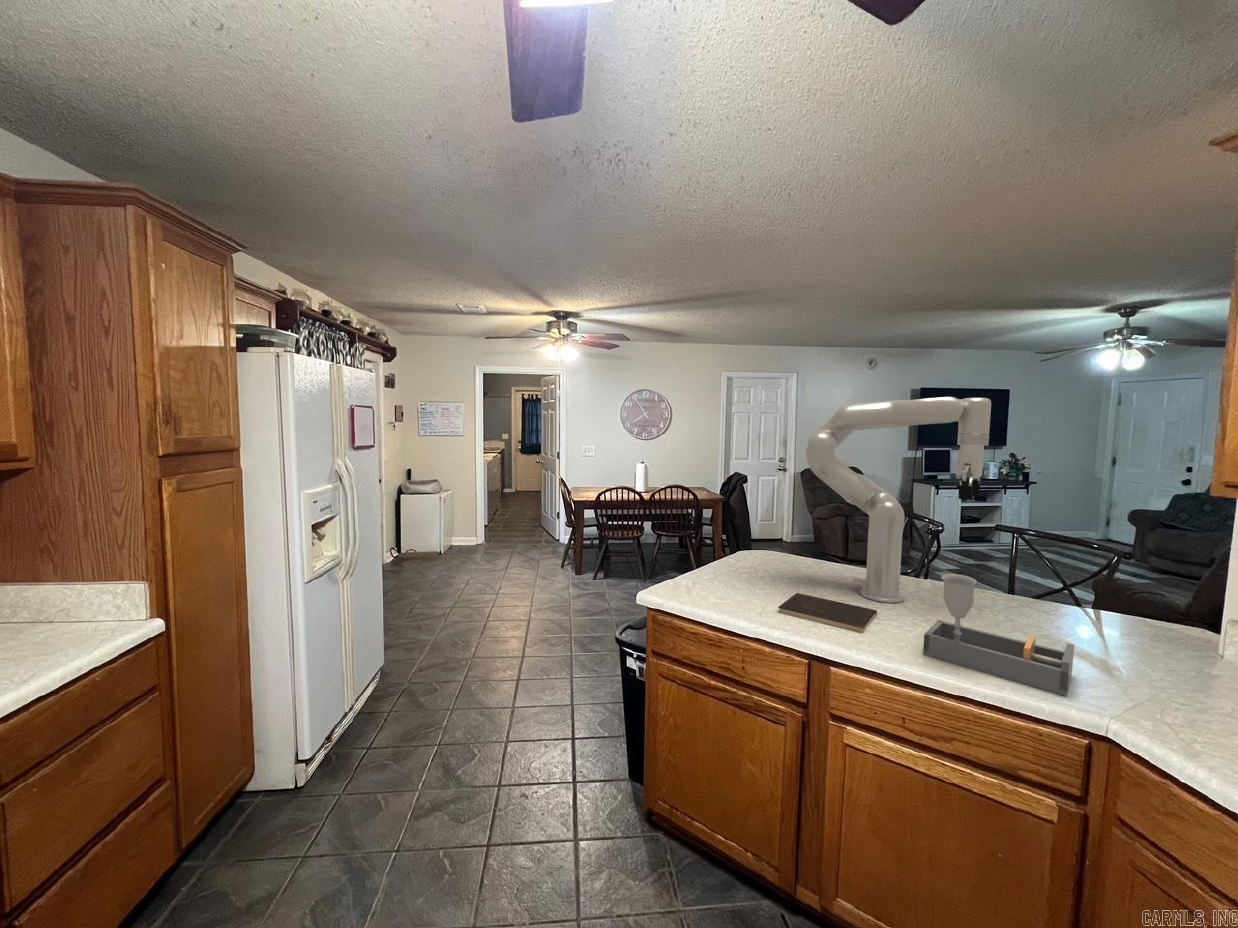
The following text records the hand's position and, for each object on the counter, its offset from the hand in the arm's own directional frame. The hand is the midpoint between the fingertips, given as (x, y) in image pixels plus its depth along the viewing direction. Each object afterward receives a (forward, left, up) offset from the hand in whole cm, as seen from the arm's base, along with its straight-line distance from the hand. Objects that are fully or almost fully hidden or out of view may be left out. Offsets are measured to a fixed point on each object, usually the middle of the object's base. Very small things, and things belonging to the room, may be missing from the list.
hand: (969, 497), depth 151 cm
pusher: (+23, -38, -32) cm, 55 cm away
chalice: (+7, -40, -32) cm, 52 cm away
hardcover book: (-26, -35, -34) cm, 56 cm away
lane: (+14, -38, -33) cm, 52 cm away
